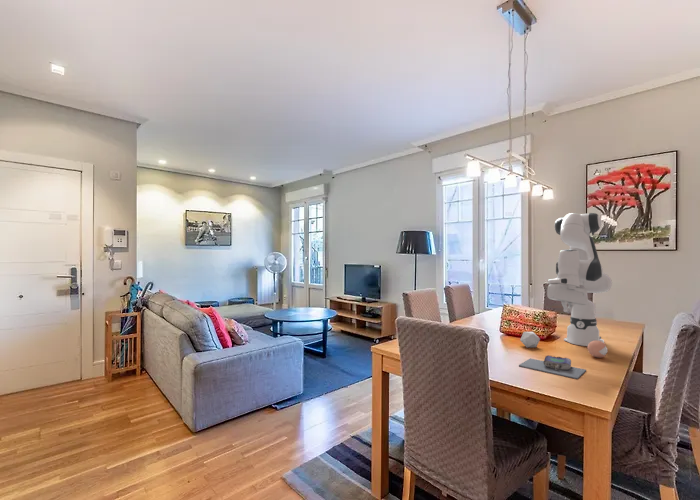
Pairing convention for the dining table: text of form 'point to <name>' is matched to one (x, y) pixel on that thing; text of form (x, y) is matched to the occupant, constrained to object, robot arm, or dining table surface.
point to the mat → (552, 369)
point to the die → (530, 339)
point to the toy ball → (597, 349)
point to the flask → (557, 362)
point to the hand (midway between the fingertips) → (567, 312)
